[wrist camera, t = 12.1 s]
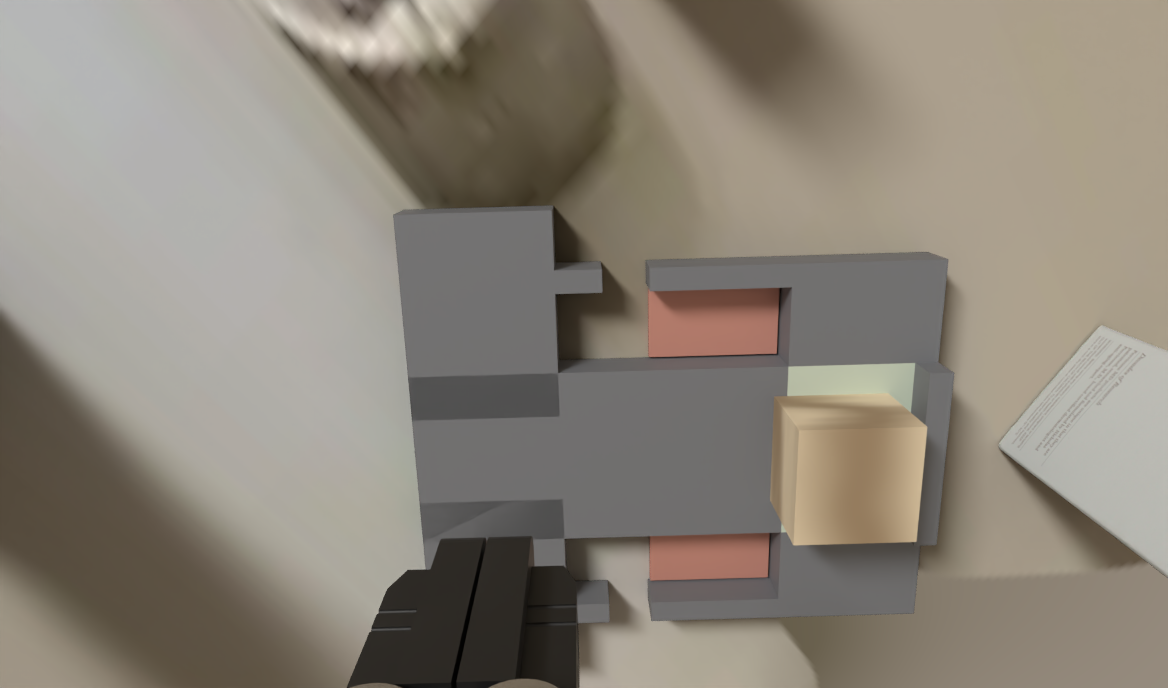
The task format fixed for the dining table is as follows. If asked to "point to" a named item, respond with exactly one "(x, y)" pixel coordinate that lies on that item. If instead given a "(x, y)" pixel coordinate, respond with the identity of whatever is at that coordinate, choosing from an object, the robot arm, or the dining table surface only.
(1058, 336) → the dining table surface
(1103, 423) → the supplement box
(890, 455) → the block
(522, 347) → the track
